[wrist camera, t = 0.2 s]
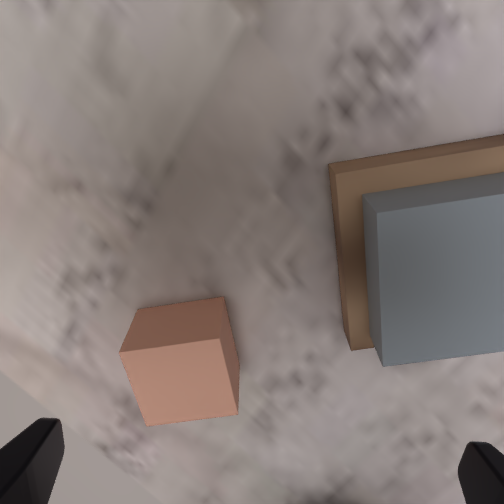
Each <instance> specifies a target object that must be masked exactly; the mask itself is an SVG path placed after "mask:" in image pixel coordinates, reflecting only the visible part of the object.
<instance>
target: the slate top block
mask: <svg viewBox="0 0 504 504" xmlns="http://www.w3.org/2000/svg"><path fill="white" fill-rule="evenodd" d="M362 202H363V220H364V238H365V256H366V274H367V293H368V311H369V329H370V337H371V339H372V342H373V344H374V347H375V349H376V351H377V354H378V356H379V359H380V361H381V363H382V366H383V367H385V366H393V365H401V364H408V363H416V362H424V361H432V360H440V359H447V358H455V357H463V356H471V355H478V354H486V353H494V352H502V351H504V172H501V173H495V174H488V175H482V176H475V177H469V178H463V179H456V180H450V181H443V182H437V183H430V184H424V185H418V186H411V187H405V188H398V189H392V190H386V191H379V192H373V193H366V194H362Z"/></svg>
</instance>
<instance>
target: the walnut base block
mask: <svg viewBox="0 0 504 504" xmlns="http://www.w3.org/2000/svg"><path fill="white" fill-rule="evenodd" d="M328 166H329V176H330V187H331V197H332V208H333V218H334V229H335V240H336V250H337V261H338V271H339V282H340V292H341V303H342V314H343V324H344V332H345V335H346V337H347V340H348V343H349V346H350V349H351V351H353V350H360V349H367V348H374V344H373V342H372V339H371V337H370V329H369V311H368V293H367V274H366V256H365V238H364V220H363V202H362V194H366V193H373V192H379V191H386V190H392V189H398V188H405V187H411V186H418V185H424V184H430V183H437V182H443V181H450V180H456V179H463V178H469V177H475V176H482V175H488V174H495V173H501V172H504V134H501V135H495V136H489V137H483V138H478V139H472V140H466V141H460V142H454V143H448V144H442V145H436V146H430V147H424V148H418V149H413V150H407V151H401V152H395V153H389V154H383V155H377V156H371V157H365V158H359V159H353V160H347V161H342V162H336V163H330V164H328Z"/></svg>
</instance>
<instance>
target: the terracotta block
mask: <svg viewBox="0 0 504 504" xmlns="http://www.w3.org/2000/svg"><path fill="white" fill-rule="evenodd" d="M119 354H120V357H121V360H122V362H123V365H124V368H125V370H126V373H127V376H128V378H129V381H130V384H131V386H132V389H133V392H134V394H135V397H136V400H137V402H138V405H139V408H140V410H141V413H142V416H143V418H144V421H145V424H146V426H154V425H162V424H169V423H177V422H185V421H192V420H200V419H208V418H216V417H223V416H231V415H238V402H239V370H240V365H239V361H238V357H237V352H236V348H235V343H234V339H233V335H232V330H231V326H230V322H229V317H228V313H227V308H226V304H225V300H224V297H217V298H211V299H204V300H197V301H191V302H184V303H177V304H170V305H164V306H157V307H150V308H144V309H138V310H137V312H136V314H135V317H134V319H133V321H132V324H131V326H130V328H129V331H128V333H127V335H126V337H125V340H124V342H123V344H122V347H121V349H120V351H119Z"/></svg>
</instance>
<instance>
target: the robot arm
mask: <svg viewBox="0 0 504 504" xmlns="http://www.w3.org/2000/svg"><path fill="white" fill-rule="evenodd" d="M64 447H65V446H64V438H63V432H62V424H61V421H60V420H59V419H57V418H40V419H38V420H36V421H35V422H34V423H33V424H31V425H30V426H29V427H27V428H26V429H25V430H24V431H22V432H21V433H20V434H19V435H17V436H16V437H15V438H13V439H12V440H11V441H10V442H9V443H7V444H6V445H5V446H3V447H2V448H1V449H0V504H48V501H49V498H50V495H51V492H52V489H53V486H54V483H55V480H56V477H57V474H58V470H59V467H60V465H61V461H62V458H63V455H64ZM458 477H459V481H460V484H461V488H462V491H463V494H464V498H465V501H466V504H504V455H503V454H502V453H501V452H500V451H498V450H497V449H496V448H495V447H494V446H492V445H491V444H489V443H486V442H469V443H468V444H467V446H466V448H465V451H464V453H463V456H462V458H461V461H460V463H459V466H458Z"/></svg>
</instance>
